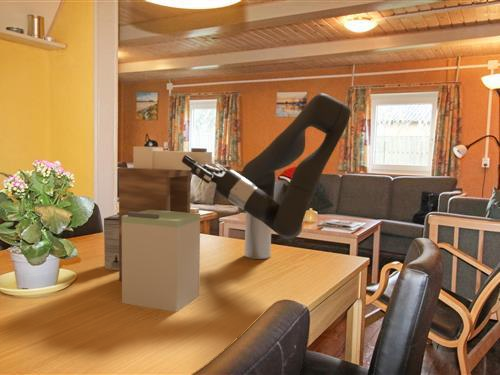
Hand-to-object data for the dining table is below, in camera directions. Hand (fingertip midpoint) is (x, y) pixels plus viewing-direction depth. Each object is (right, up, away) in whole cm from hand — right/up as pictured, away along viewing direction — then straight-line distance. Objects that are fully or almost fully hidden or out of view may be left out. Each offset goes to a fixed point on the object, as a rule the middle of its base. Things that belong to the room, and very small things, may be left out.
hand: (190, 157), depth 120 cm
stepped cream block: (-5, -3, +2) cm, 7 cm away
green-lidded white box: (-6, -36, -11) cm, 38 cm away
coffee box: (-25, -33, +18) cm, 45 cm away
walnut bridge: (-11, -35, +7) cm, 37 cm away
